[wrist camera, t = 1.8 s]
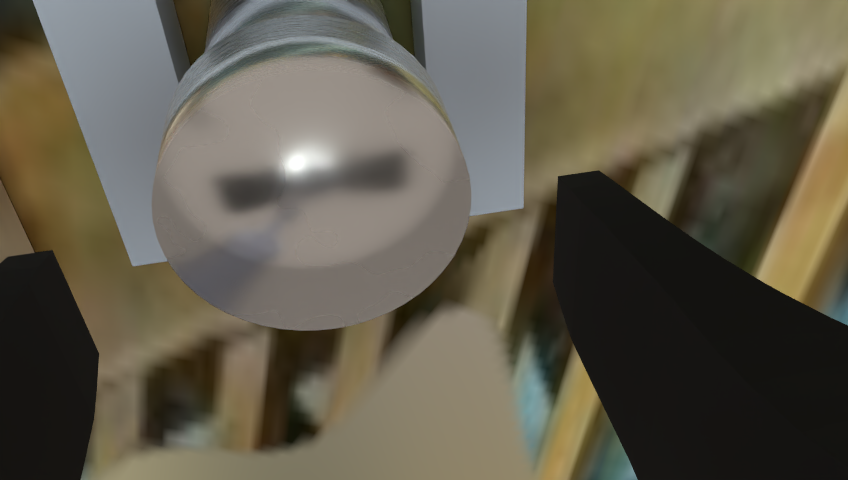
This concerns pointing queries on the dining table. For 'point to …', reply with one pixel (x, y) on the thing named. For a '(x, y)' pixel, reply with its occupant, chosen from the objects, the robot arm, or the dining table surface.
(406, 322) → the dining table surface
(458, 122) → the frame
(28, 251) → the dock
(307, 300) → the steel pin
